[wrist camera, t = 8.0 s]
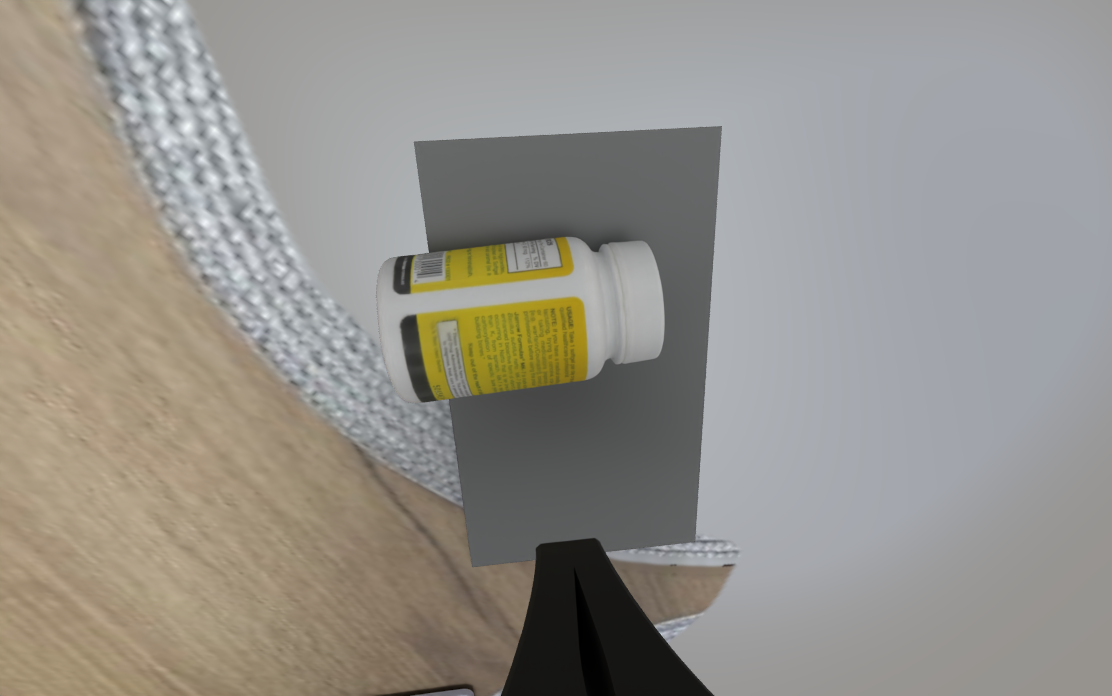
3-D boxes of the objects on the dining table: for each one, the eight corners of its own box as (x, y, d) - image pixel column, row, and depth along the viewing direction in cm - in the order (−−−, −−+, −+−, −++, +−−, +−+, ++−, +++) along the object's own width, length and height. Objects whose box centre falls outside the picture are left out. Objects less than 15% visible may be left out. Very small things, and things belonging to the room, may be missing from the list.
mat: (692, 535, 25) (694, 541, 25) (472, 560, 24) (471, 567, 24) (717, 126, 18) (721, 126, 18) (415, 141, 18) (413, 141, 17)
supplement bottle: (416, 415, 19) (648, 385, 19) (376, 388, 14) (681, 350, 15) (408, 290, 20) (625, 265, 21) (369, 229, 16) (649, 199, 16)
